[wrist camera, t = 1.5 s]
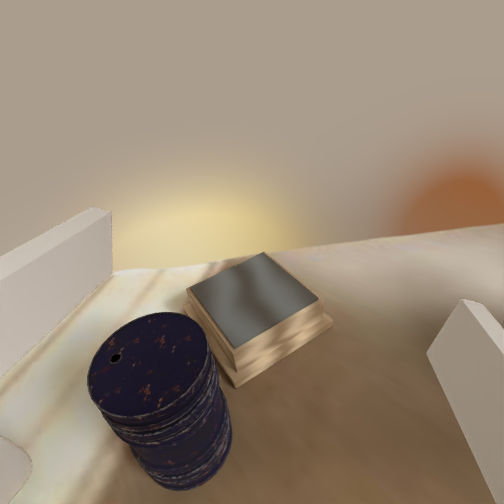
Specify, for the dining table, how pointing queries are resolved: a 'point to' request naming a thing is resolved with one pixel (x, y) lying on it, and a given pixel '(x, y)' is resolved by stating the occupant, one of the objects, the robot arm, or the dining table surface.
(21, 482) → the fox head
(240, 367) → the plinth
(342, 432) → the dining table surface
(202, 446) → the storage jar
